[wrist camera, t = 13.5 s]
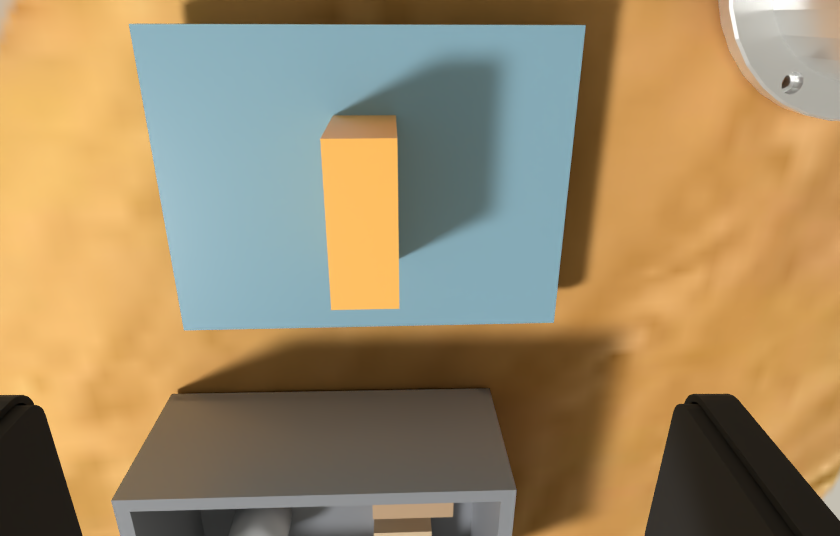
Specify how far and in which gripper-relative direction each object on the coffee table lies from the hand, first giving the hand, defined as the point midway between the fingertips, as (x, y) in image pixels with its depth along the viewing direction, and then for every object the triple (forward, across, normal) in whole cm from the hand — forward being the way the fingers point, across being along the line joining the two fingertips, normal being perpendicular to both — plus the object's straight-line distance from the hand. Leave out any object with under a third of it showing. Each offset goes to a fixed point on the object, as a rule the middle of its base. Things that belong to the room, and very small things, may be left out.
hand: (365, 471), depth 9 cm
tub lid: (+18, +1, 0) cm, 18 cm away
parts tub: (+18, +3, +18) cm, 25 cm away
